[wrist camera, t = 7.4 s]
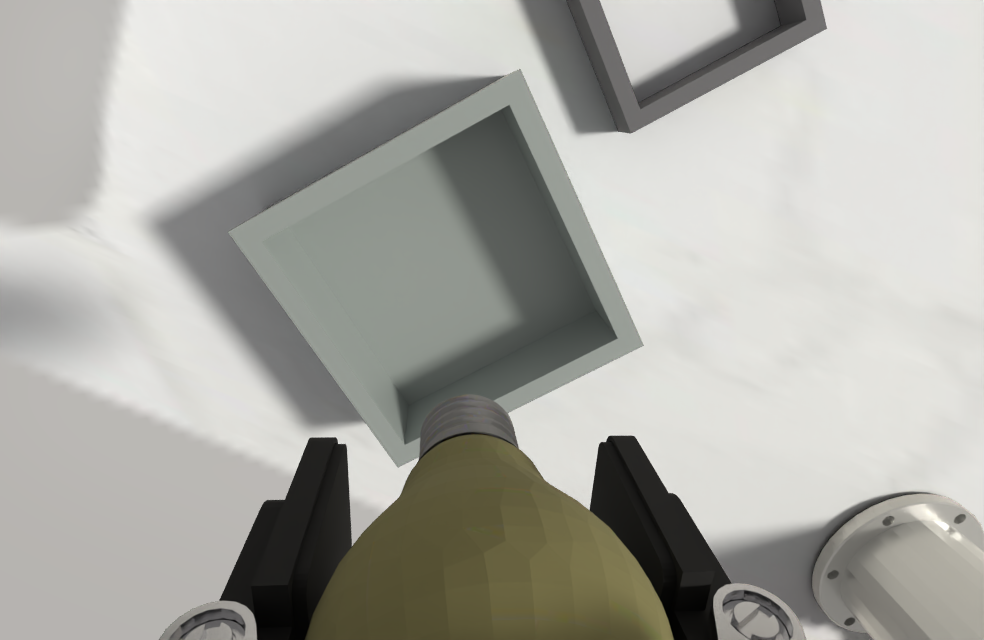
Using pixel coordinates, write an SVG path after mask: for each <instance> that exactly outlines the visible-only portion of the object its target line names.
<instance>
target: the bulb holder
mask: <svg viewBox="0 0 984 640" xmlns="http://www.w3.org/2000/svg"><path fill="white" fill-rule="evenodd" d="M566 1H567V3H568V6H569V8H570V11H571V13H572V16H573V18H574V21H575V23H576V26H577V28H578V31H579V33H580V36H581V39H582V41H583V44H584V46H585V49H586V51H587V54H588V56H589V59H590V61H591V64H592V66H593V69H594V71H595V74H596V76H597V79H598V81H599V84H600V86H601V89H602V91H603V94H604V96H605V99H606V102H607V104H608V107H609V109H610V112H611V114H612V117H613V119H614V122H615V124H616V127H617V129H618V132H625V133H633V132H635V131H637V130H638V129H640V128H642V127H644V126H646V125H648V124H650V123H651V122H653V121H655V120H657V119H659V118H661V117H663V116H665V115H666V114H668V113H670V112H672V111H674V110H676V109H678V108H679V107H681V106H683V105H685V104H687V103H689V102H691V101H693V100H694V99H696V98H698V97H700V96H702V95H704V94H706V93H708V92H709V91H711V90H713V89H715V88H717V87H719V86H721V85H722V84H724V83H726V82H728V81H730V80H732V79H734V78H736V77H737V76H739V75H741V74H743V73H745V72H747V71H749V70H750V69H752V68H754V67H756V66H758V65H760V64H762V63H764V62H765V61H767V60H769V59H771V58H773V57H775V56H777V55H778V54H780V53H782V52H784V51H786V50H788V49H790V48H792V47H793V46H795V45H797V44H799V43H801V42H803V41H805V40H807V39H808V38H810V37H812V36H814V35H816V34H818V33H820V32H821V31H823V30H825V29H827V27H826V23H825V18H824V14H823V10H822V6H821V1H820V0H775V4H776V8H777V12H778V16H779V19H780V23H781V26H780V27H778V28H776V29H774V30H772V31H771V32H769V33H767V34H765V35H763V36H761V37H760V38H758V39H756V40H754V41H752V42H750V43H748V44H747V45H745V46H743V47H741V48H739V49H737V50H735V51H734V52H732V53H730V54H728V55H726V56H724V57H722V58H721V59H719V60H717V61H715V62H713V63H711V64H710V65H708V66H706V67H704V68H702V69H700V70H698V71H697V72H695V73H693V74H691V75H689V76H687V77H685V78H684V79H682V80H680V81H678V82H676V83H674V84H673V85H671V86H669V87H667V88H665V89H663V90H661V91H660V92H658V93H656V94H654V95H652V96H650V97H648V98H647V99H645V100H643V101H641V102H639V103H638V102H637V99H636V96H635V94H634V91H633V88H632V86H631V83H630V80H629V78H628V75H627V72H626V70H625V67H624V64H623V62H622V59H621V56H620V54H619V51H618V48H617V46H616V43H615V40H614V38H613V35H612V32H611V30H610V27H609V25H608V22H607V19H606V17H605V14H604V11H603V9H602V6H601V3H600V1H599V0H566Z"/></svg>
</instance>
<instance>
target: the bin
mask: <svg viewBox="0 0 984 640" xmlns="http://www.w3.org/2000/svg"><path fill="white" fill-rule="evenodd" d="M228 233H229V235H230V236H231V237H232V239H233V240H234V241H235V243H236V244H237V246H238V247H239V248H240V250H241V251H242V253H243V254H244V255H245V257H246V258H247V259H248V261H249V262H250V264H251V265H252V266H253V268H254V269H255V271H256V272H257V273H258V275H259V276H260V277H261V279H262V280H263V282H264V283H265V284H266V286H267V287H268V289H269V290H270V291H271V293H272V294H273V295H274V297H275V298H276V300H277V301H278V302H279V304H280V305H281V307H282V308H283V309H284V311H285V312H286V313H287V315H288V316H289V318H290V319H291V320H292V322H293V323H294V325H295V326H296V327H297V329H298V330H299V331H300V333H301V334H302V336H303V337H304V338H305V340H306V341H307V343H308V344H309V345H310V347H311V348H312V349H313V351H314V352H315V354H316V355H317V356H318V358H319V359H320V361H321V362H322V363H323V365H324V366H325V367H326V369H327V370H328V372H329V373H330V374H331V376H332V377H333V379H334V380H335V381H336V383H337V384H338V385H339V387H340V388H341V390H342V391H343V392H344V394H345V395H346V397H347V398H348V399H349V401H350V402H351V403H352V405H353V406H354V408H355V409H356V410H357V412H358V413H359V415H360V416H361V417H362V419H363V420H364V421H365V423H366V424H367V426H368V427H369V428H370V430H371V431H372V433H373V434H374V435H375V437H376V438H377V439H378V441H379V442H380V444H381V445H382V446H383V448H384V449H385V451H386V452H387V453H388V455H389V456H390V457H391V459H392V460H393V462H394V463H395V464H396V466H397V467H400V466H402V465H404V464H406V463H408V462H410V461H412V460H414V459H416V458H418V457H419V453H420V432H421V428H422V425H423V422H424V420H425V418H426V416H427V415H428V414H429V413H430V411H431V410H432V409H433V408H434V407H436V406H437V405H438V404H439V403H441V402H443V401H445V400H447V399H449V398H452V397H455V396H460V395H466V394H468V395H479V396H483V397H486V398H488V399H490V400H492V401H494V402H496V403H498V404H499V405H500V406H501V407H502V408H503V409H504V410H505V411H506V412H507V413H509V412H511V411H513V410H515V409H517V408H519V407H521V406H523V405H525V404H527V403H529V402H531V401H533V400H535V399H537V398H539V397H541V396H543V395H545V394H547V393H549V392H551V391H553V390H555V389H557V388H559V387H561V386H563V385H565V384H567V383H569V382H571V381H573V380H575V379H577V378H579V377H581V376H583V375H585V374H587V373H589V372H591V371H593V370H595V369H597V368H599V367H601V366H603V365H606V364H608V363H610V362H612V361H614V360H616V359H618V358H620V357H622V356H624V355H626V354H628V353H630V352H632V351H634V350H636V349H638V348H640V347H642V346H644V345H643V343H642V341H641V338H640V336H639V334H638V332H637V329H636V327H635V325H634V323H633V320H632V318H631V316H630V314H629V311H628V309H627V307H626V305H625V302H624V300H623V298H622V296H621V293H620V291H619V289H618V287H617V284H616V282H615V280H614V278H613V276H612V273H611V271H610V269H609V267H608V264H607V262H606V260H605V258H604V255H603V253H602V251H601V249H600V246H599V244H598V242H597V240H596V237H595V235H594V233H593V231H592V228H591V226H590V224H589V222H588V219H587V217H586V215H585V213H584V210H583V208H582V206H581V204H580V202H579V199H578V197H577V195H576V193H575V190H574V188H573V186H572V184H571V181H570V179H569V177H568V175H567V172H566V170H565V168H564V166H563V163H562V161H561V159H560V157H559V154H558V152H557V150H556V148H555V145H554V143H553V141H552V139H551V137H550V134H549V132H548V130H547V128H546V125H545V123H544V121H543V119H542V116H541V114H540V112H539V110H538V107H537V105H536V103H535V101H534V98H533V96H532V94H531V92H530V89H529V87H528V85H527V83H526V80H525V78H524V76H523V74H522V71H521V69H519V70H517V71H515V72H512V73H510V74H508V75H506V76H504V77H502V78H500V79H499V80H497V81H495V82H493V83H491V84H490V85H488V86H486V87H484V88H482V89H481V90H479V91H477V92H475V93H474V94H472V95H470V96H468V97H466V98H465V99H463V100H461V101H459V102H457V103H456V104H454V105H452V106H450V107H448V108H447V109H445V110H443V111H441V112H439V113H438V114H436V115H434V116H432V117H431V118H429V119H427V120H425V121H423V122H422V123H420V124H418V125H416V126H414V127H413V128H411V129H409V130H407V131H405V132H404V133H402V134H400V135H398V136H397V137H395V138H393V139H391V140H389V141H388V142H386V143H384V144H382V145H380V146H379V147H377V148H375V149H373V150H371V151H370V152H368V153H366V154H364V155H362V156H361V157H359V158H357V159H355V160H354V161H352V162H350V163H348V164H346V165H345V166H343V167H341V168H339V169H337V170H336V171H334V172H332V173H330V174H328V175H327V176H325V177H323V178H321V179H319V180H318V181H316V182H314V183H312V184H311V185H309V186H307V187H305V188H303V189H302V190H300V191H298V192H296V193H294V194H293V195H291V196H289V197H287V198H285V199H284V200H282V201H280V202H278V203H277V204H275V205H273V206H271V207H269V208H268V209H266V210H264V211H262V212H261V213H259V214H257V215H256V216H254V217H252V218H251V219H249V220H247V221H246V222H244V223H242V224H241V225H239V226H237V227H235V228H234V229H232V230H230V231H229V232H228Z"/></svg>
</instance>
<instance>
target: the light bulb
mask: <svg viewBox="0 0 984 640" xmlns="http://www.w3.org/2000/svg"><path fill="white" fill-rule="evenodd" d="M305 640H674V638H673V634H672V631H671V628H670V624H669V621H668V618H667V615H666V613H665V610H664V608H663V605H662V603H661V601H660V599H659V597H658V595H657V593H656V591H655V590H654V588H653V586H652V584H651V582H650V580H649V579H648V577H647V576H646V574H645V572H644V571H643V569H642V568H641V566H640V565H639V563H638V561H637V560H636V558H635V557H634V556H633V555H632V554H631V552H630V551H629V550H628V549H627V548H626V546H625V545H624V544H623V543H622V542H621V540H620V539H619V538H618V537H617V536H616V534H615V533H614V532H613V531H612V530H611V529H610V527H609V526H607V525H606V524H605V523H604V522H603V521H601V520H600V519H599V518H598V517H597V516H595V515H594V514H593V513H592V512H591V511H589V510H588V509H587V508H586V507H584V506H583V505H582V504H580V503H579V502H578V501H577V500H575V499H573V498H572V497H570V496H568V495H567V494H565V493H563V492H562V491H560V490H558V489H557V488H555V487H553V486H552V485H550V484H549V483H548V482H546V481H545V480H544V479H543V477H542V476H541V474H540V473H539V471H538V470H537V468H536V467H535V465H534V464H533V462H532V461H531V460H530V459H529V458H528V457H527V456H526V455H525V454H524V453H523V452H522V451H521V450H519V448H518V444H517V440H516V436H515V431H514V427H513V425H512V421H511V419H510V417H509V415H508V413H507V412H506V411H505V410H504V409H503V408H502V407H501V406H500V405H499V404H498V403H496V402H494V401H492V400H490V399H488V398H486V397H483V396H479V395H468V394H466V395H460V396H455V397H452V398H449V399H447V400H445V401H443V402H441V403H439V404H438V405H437V406H436V407H434V408H433V409H432V410H431V411H430V413H429V414H428V415H427V416H426V418H425V420H424V422H423V425H422V428H421V432H420V453H419V461H418V462H417V464H416V466H415V467H414V468H413V469H412V471H411V473H410V474H409V476H408V478H407V480H406V483H405V485H404V488H403V490H402V493H401V495H400V497H399V498H398V499H397V500H396V501H395V502H394V503H393V504H392V505H391V506H389V507H388V508H387V509H386V510H385V511H384V512H383V513H382V514H381V515H380V516H379V517H378V518H377V519H376V520H375V521H374V522H373V523H372V524H371V525H370V526H369V527H368V528H367V529H366V530H365V531H364V532H363V533H362V534H361V536H360V537H359V538H358V540H357V541H356V542H355V543H354V545H353V546H352V547H351V548H350V550H349V551H348V552H347V553H346V555H345V556H344V557H343V559H342V560H341V561H340V562H339V564H338V566H337V568H336V570H335V572H334V574H333V576H332V577H331V579H330V581H329V583H328V585H327V587H326V589H325V591H324V593H323V595H322V597H321V599H320V601H319V603H318V605H317V607H316V609H315V611H314V613H313V615H312V618H311V621H310V625H309V628H308V631H307V634H306V638H305Z"/></svg>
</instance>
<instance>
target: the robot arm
mask: <svg viewBox="0 0 984 640" xmlns="http://www.w3.org/2000/svg"><path fill="white" fill-rule="evenodd" d="M590 511H591V512H592V513H593V514H594V515H595V516H597V517H598V518H599V519H600V520H601V521H603V522H604V523H605V524H606V525H607V526H609V527H610V529H611V530H612V531H613V532H614V533H615V534H616V536H617V537H618V538H619V539H620V540H621V542H622V543H623V544H624V545H625V546H626V548H627V549H628V550H629V551H630V552H631V554H632V555H633V556H634V557H635V558H636V560H637V561H638V563H639V565H640V566H641V568H642V569H643V571H644V572H645V574H646V576H647V577H648V579H649V580H650V582H651V584H652V586H653V588H654V590H655V591H656V593H657V595H658V597H659V599H660V601H661V603H662V605H663V608H664V610H665V613H666V615H667V618H668V621H669V624H670V628H671V631H672V634H673V638H674V640H806V637H805V634H804V631H803V628H802V625H801V623H800V621H799V619H798V617H797V615H796V614H795V613H794V612H793V611H792V610H791V608H790V607H789V606H788V605H787V604H786V603H784V602H783V601H782V600H781V599H779V598H778V597H777V596H776V595H774V594H772V593H770V592H768V591H766V590H764V589H762V588H759V587H756V586H753V585H750V584H742V583H733V584H732V583H731V582H730V580H729V578H728V577H727V575H726V574H725V572H724V570H723V569H722V567H721V565H720V564H719V562H718V560H717V559H716V557H715V556H714V554H713V552H712V551H711V549H710V547H709V546H708V544H707V543H706V541H705V539H704V538H703V536H702V534H701V533H700V531H699V529H698V528H697V526H696V525H695V523H694V521H693V520H692V518H691V516H690V515H689V513H688V512H687V510H686V508H685V507H684V505H683V503H682V502H681V500H680V499H679V498H678V496H677V495H675V494H673V493H668V491H667V490H666V488H665V486H664V485H663V483H662V481H661V480H660V478H659V476H658V475H657V473H656V471H655V470H654V468H653V466H652V464H651V463H650V461H649V459H648V458H647V456H646V454H645V453H644V451H643V449H642V448H641V446H640V444H639V443H638V441H637V439H636V438H635V437H634V436H609V437H608V438H607V441H606V442H601V443H600V444H599V448H598V455H597V462H596V469H595V476H594V483H593V490H592V498H591V505H590ZM351 547H352V539H351V521H350V500H349V480H348V461H347V447H346V444H338V441H337V438H336V437H335V438H310V439H309V440H308V443H307V445H306V448H305V450H304V453H303V455H302V458H301V461H300V463H299V466H298V468H297V471H296V473H295V476H294V478H293V481H292V483H291V486H290V488H289V491H288V493H287V496H286V499H285V500H267V501H265V502H264V503H263V505H262V507H261V509H260V511H259V513H258V515H257V518H256V520H255V522H254V524H253V527H252V529H251V531H250V533H249V536H248V538H247V540H246V542H245V544H244V547H243V549H242V551H241V554H240V556H239V558H238V560H237V562H236V565H235V567H234V569H233V571H232V574H231V576H230V578H229V580H228V583H227V585H226V587H225V589H224V591H223V594H222V596H221V598H220V600H219V601H217V602H211V603H207V604H204V605H201V606H199V607H196V608H194V609H192V610H190V611H188V612H187V613H185V614H184V615H182V616H180V617H179V618H178V619H177V620H175V621H174V622H173V623H172V624H171V625H170V626H169V627H168V628H167V629H166V630H165V631H164V633H163V634H162V636H161V637H160V639H159V640H305V638H306V634H307V631H308V628H309V625H310V621H311V618H312V615H313V613H314V611H315V609H316V607H317V605H318V603H319V601H320V599H321V597H322V595H323V593H324V591H325V589H326V587H327V585H328V583H329V581H330V579H331V577H332V576H333V574H334V572H335V570H336V568H337V566H338V564H339V562H340V561H341V560H342V559H343V557H344V556H345V555H346V553H347V552H348V551H349V550H350V548H351ZM812 589H813V593H814V597H815V599H816V601H817V603H818V604H819V606H820V607H821V609H822V610H823V611H824V612H825V614H826V615H827V616H828V617H829V619H830V620H832V621H833V622H834V623H836V624H837V625H838V626H840V627H842V628H845V629H847V630H850V631H854V632H859V633H868V634H869V635H870V636H871V638H872V639H873V640H984V531H983V529H982V526H981V524H980V522H979V521H978V520H977V518H976V517H975V516H974V515H973V514H972V513H971V512H969V511H968V510H967V509H965V508H964V507H963V506H962V505H960V504H959V503H957V502H955V501H953V500H952V499H950V498H947V497H943V496H939V495H935V494H913V495H904V496H900V497H896V498H892V499H888V500H886V501H883V502H881V503H878V504H876V505H873V506H871V507H870V508H868V509H866V510H864V511H863V512H861V513H859V514H857V515H856V516H855V517H853V518H852V519H851V520H849V521H848V522H847V523H845V524H844V525H843V526H842V527H841V528H840V529H839V530H838V531H837V532H836V533H835V534H834V535H833V536H832V537H831V538H830V540H829V541H828V542H827V544H826V545H825V546H824V548H823V549H822V551H821V553H820V555H819V557H818V559H817V561H816V564H815V568H814V571H813V575H812Z"/></svg>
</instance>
